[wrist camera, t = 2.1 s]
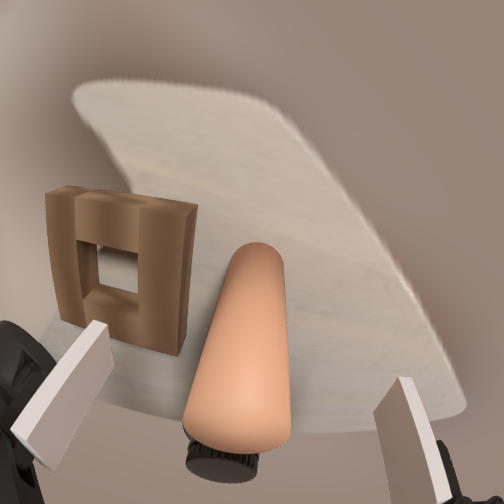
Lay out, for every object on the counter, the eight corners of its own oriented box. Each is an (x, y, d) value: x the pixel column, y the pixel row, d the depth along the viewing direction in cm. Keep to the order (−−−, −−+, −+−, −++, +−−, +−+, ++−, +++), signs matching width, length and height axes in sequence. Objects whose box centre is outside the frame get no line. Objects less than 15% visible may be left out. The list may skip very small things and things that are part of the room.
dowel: (227, 284, 23) (182, 443, 10) (234, 237, 21) (182, 388, 8) (277, 294, 23) (276, 458, 10) (288, 248, 21) (305, 408, 8)
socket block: (76, 303, 25) (61, 319, 22) (67, 185, 20) (45, 193, 18) (186, 334, 25) (177, 356, 22) (198, 204, 20) (186, 215, 18)
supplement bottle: (288, 368, 26) (290, 481, 15) (229, 389, 28) (212, 491, 17) (249, 319, 24) (233, 444, 13) (188, 346, 26) (149, 455, 15)
